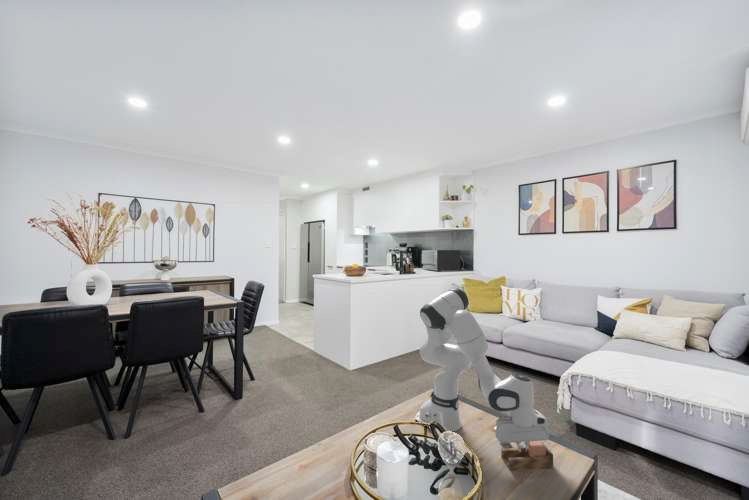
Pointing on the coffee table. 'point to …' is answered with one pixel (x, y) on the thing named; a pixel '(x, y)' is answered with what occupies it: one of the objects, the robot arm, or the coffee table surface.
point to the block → (536, 449)
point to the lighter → (501, 443)
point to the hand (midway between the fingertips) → (522, 451)
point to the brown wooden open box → (526, 460)
